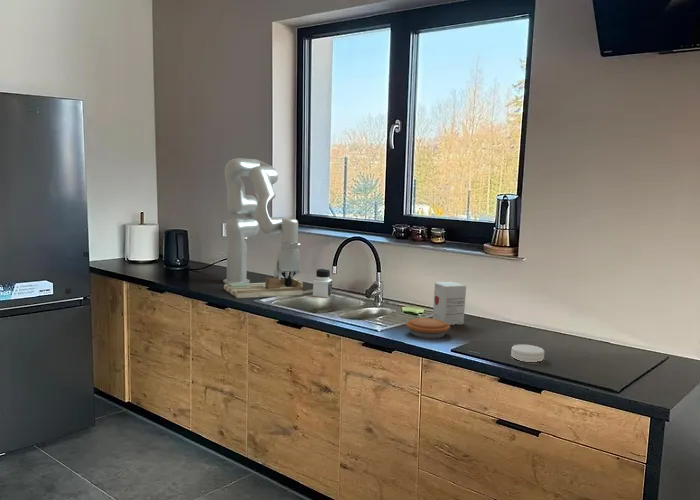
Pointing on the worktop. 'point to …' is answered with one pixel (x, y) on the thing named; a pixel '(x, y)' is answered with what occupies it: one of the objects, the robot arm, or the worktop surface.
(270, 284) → the walnut cube
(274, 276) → the grey metal peg
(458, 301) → the supplement box
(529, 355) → the white round container
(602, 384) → the worktop surface
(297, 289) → the board
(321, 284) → the medicine bottle
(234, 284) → the pad
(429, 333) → the pie
